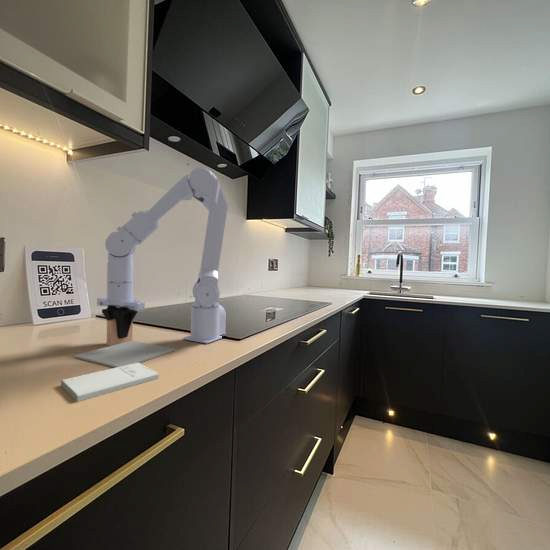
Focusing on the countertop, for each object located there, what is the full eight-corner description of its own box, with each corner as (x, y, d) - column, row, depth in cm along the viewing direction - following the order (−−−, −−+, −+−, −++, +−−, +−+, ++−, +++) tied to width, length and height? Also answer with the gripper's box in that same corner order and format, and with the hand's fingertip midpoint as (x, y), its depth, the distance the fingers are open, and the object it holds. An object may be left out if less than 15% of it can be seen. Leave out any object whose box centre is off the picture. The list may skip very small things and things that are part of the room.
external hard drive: (60, 389, 48) (137, 369, 58) (77, 406, 43) (158, 381, 53) (60, 379, 48) (137, 361, 58) (77, 395, 43) (158, 372, 52)
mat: (132, 342, 75) (132, 340, 75) (175, 350, 69) (175, 348, 69) (74, 357, 62) (74, 355, 62) (121, 369, 56) (121, 367, 56)
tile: (127, 339, 77) (128, 316, 76) (132, 340, 76) (132, 317, 76) (106, 345, 71) (106, 320, 71) (110, 346, 71) (111, 321, 70)
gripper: (85, 281, 72) (84, 336, 73) (126, 284, 66) (126, 345, 67) (111, 280, 79) (111, 330, 79) (152, 283, 73) (151, 338, 73)
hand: (119, 337), depth 74 cm, fingers closed on tile, 2 cm apart
